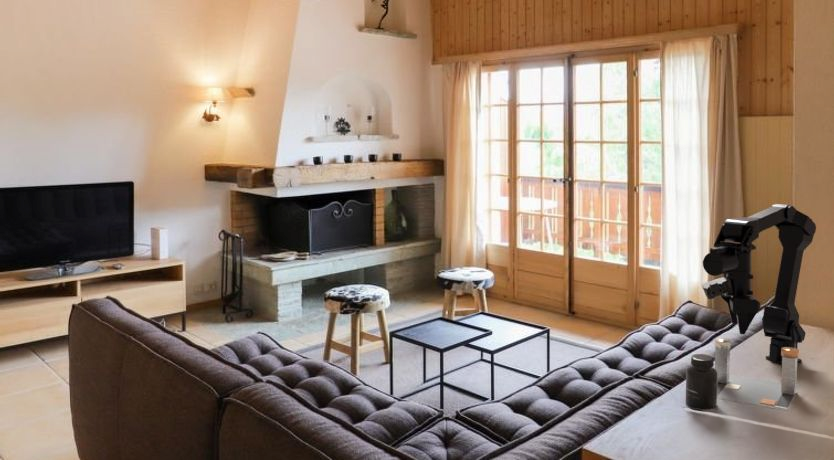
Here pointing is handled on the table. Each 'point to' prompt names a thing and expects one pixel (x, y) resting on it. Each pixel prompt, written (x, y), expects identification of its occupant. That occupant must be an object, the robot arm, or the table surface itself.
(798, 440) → the table surface
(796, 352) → the lever
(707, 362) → the supplement bottle
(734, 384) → the switch board
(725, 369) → the lever
